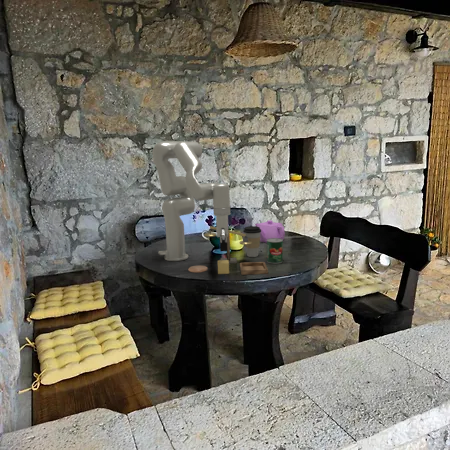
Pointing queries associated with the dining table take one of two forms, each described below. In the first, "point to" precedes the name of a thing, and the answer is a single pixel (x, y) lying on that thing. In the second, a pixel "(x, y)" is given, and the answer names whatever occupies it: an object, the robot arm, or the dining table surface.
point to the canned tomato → (274, 250)
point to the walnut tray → (253, 268)
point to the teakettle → (270, 230)
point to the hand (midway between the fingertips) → (223, 248)
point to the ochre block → (223, 267)
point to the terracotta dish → (197, 269)
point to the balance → (244, 242)
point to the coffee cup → (252, 240)
